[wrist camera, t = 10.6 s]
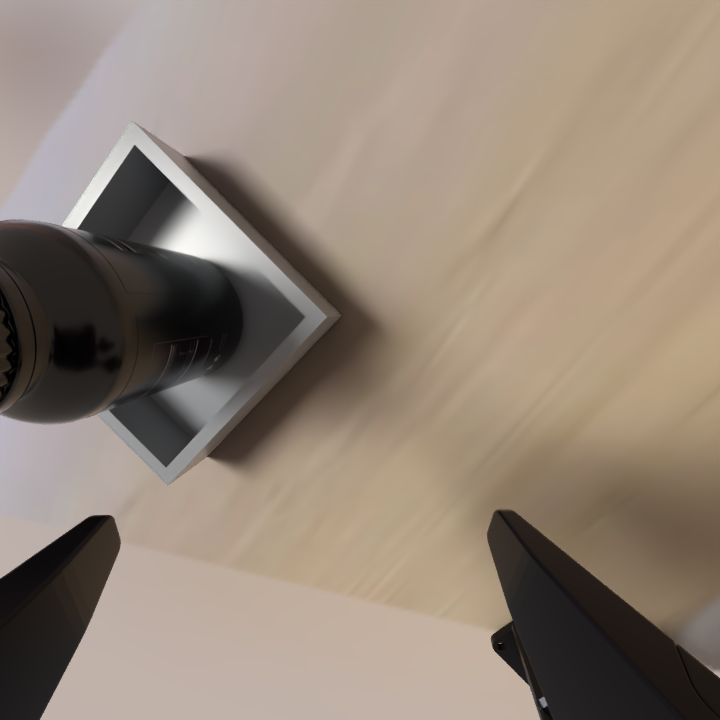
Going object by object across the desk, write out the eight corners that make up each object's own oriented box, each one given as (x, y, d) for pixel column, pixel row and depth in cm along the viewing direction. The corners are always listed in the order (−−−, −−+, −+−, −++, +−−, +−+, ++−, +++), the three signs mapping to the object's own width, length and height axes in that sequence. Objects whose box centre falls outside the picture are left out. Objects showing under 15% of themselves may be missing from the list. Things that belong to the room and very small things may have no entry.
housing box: (342, 315, 19) (326, 316, 15) (206, 457, 21) (167, 485, 18) (183, 155, 19) (132, 120, 15) (66, 316, 21) (-1, 317, 18)
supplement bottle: (116, 315, 20) (-307, 324, 8) (187, 229, 18) (-200, 90, 7) (196, 400, 20) (-108, 531, 8) (273, 321, 19) (38, 342, 7)
